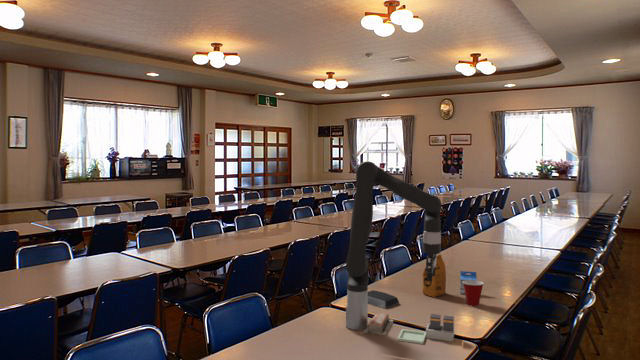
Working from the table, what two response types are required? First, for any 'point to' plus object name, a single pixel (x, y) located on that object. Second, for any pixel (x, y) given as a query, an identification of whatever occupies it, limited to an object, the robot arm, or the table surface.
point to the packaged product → (379, 324)
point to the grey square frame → (442, 330)
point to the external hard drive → (381, 299)
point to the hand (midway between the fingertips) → (430, 278)
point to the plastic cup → (473, 291)
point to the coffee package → (435, 280)
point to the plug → (435, 322)
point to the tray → (412, 336)
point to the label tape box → (466, 277)
